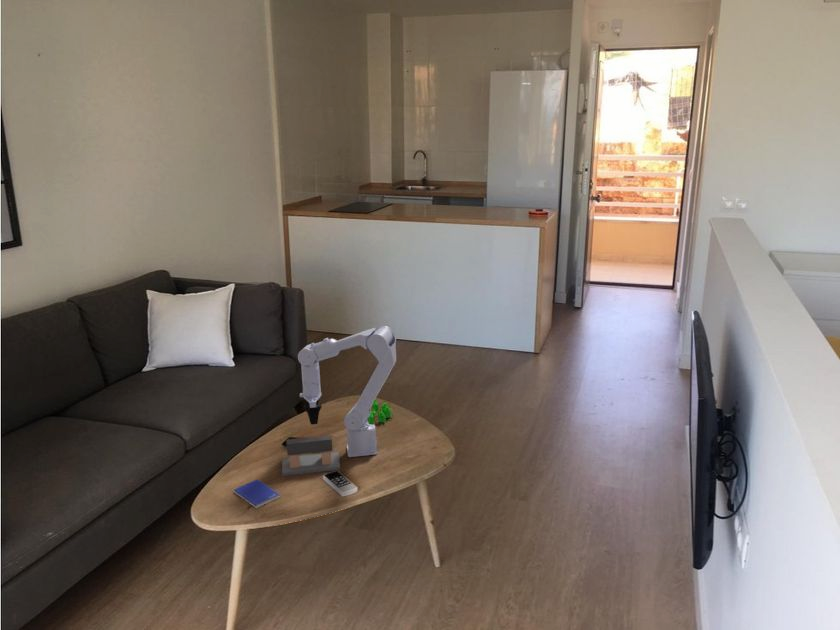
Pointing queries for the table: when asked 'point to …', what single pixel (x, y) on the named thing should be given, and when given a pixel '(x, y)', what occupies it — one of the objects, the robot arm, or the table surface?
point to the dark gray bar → (309, 445)
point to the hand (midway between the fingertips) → (313, 418)
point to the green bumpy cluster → (381, 415)
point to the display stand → (310, 463)
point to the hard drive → (257, 493)
